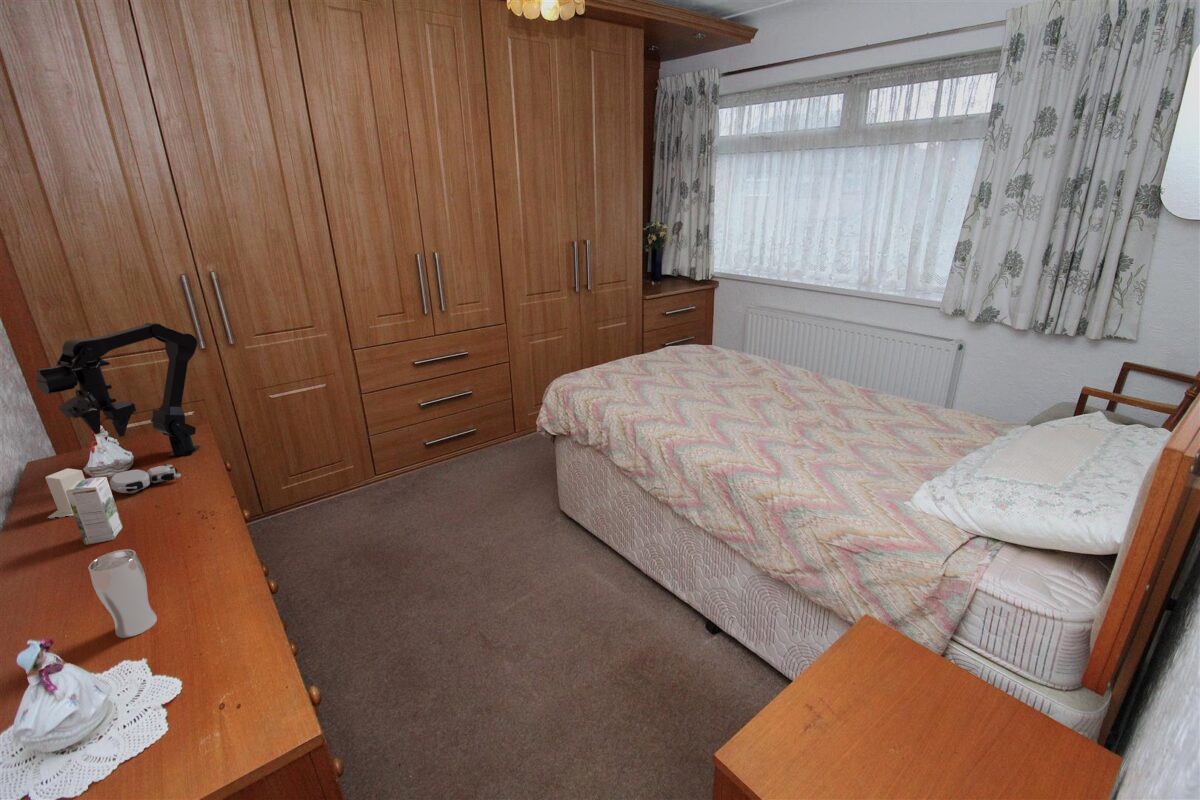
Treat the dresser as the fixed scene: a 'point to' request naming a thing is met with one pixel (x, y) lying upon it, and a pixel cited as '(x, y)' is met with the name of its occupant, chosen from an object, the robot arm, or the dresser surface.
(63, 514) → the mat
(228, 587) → the dresser surface
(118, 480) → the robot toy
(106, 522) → the syrup box
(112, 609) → the beer glass
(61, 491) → the cream block
